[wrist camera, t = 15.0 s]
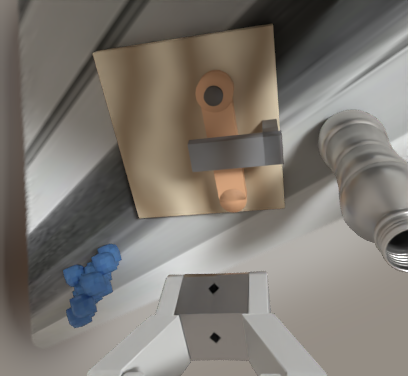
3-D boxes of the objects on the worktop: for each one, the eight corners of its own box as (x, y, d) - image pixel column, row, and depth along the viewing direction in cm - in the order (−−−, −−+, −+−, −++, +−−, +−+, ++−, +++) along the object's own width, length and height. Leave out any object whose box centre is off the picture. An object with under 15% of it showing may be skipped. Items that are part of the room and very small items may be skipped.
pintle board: (272, 23, 36) (275, 31, 30) (284, 201, 45) (287, 231, 40) (97, 50, 39) (72, 62, 34) (142, 211, 48) (128, 240, 43)
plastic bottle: (356, 170, 42) (426, 303, 25) (302, 145, 41) (336, 265, 24) (392, 120, 39) (502, 233, 22) (335, 92, 38) (401, 187, 21)
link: (195, 73, 37) (191, 78, 35) (231, 67, 36) (229, 72, 35) (220, 204, 44) (219, 214, 42) (251, 201, 43) (250, 211, 42)
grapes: (94, 210, 49) (51, 272, 39) (141, 232, 50) (111, 298, 40) (71, 268, 55) (28, 336, 44) (113, 287, 56) (81, 357, 45)
